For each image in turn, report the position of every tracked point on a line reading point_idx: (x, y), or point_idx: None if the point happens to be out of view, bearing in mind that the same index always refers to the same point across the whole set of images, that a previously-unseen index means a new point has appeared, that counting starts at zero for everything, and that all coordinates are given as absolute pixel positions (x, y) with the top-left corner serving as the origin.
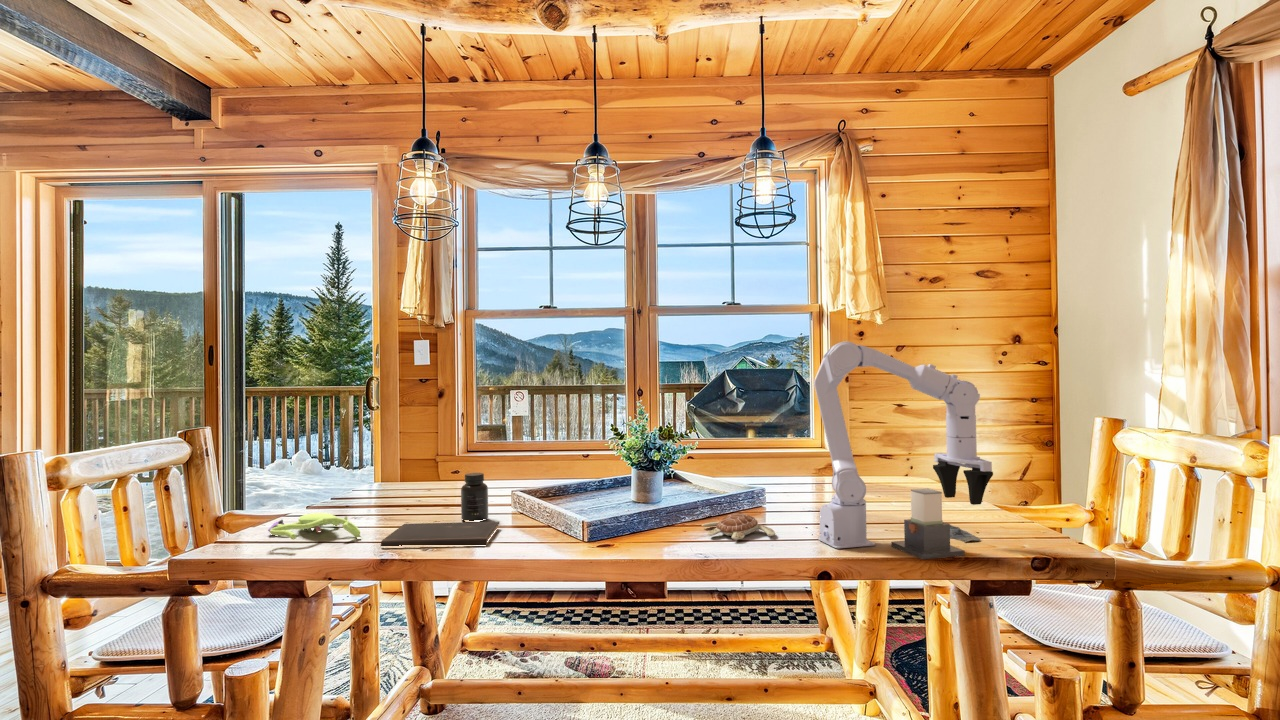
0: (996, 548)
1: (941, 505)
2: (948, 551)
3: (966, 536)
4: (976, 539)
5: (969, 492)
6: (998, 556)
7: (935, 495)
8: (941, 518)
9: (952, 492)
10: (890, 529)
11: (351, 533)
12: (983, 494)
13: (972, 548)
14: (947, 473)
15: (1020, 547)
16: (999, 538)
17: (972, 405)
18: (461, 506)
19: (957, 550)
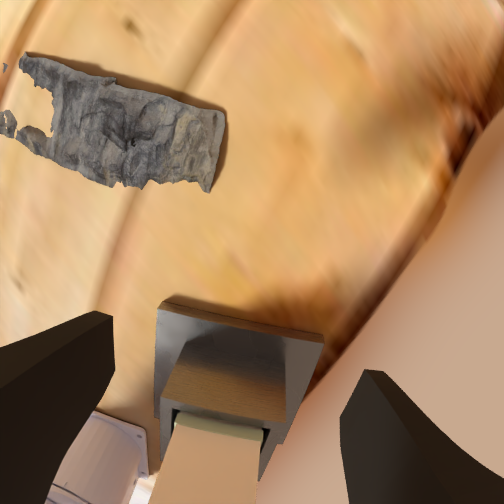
0: (324, 158)
1: (255, 492)
2: (302, 386)
3: (169, 137)
4: (210, 127)
5: (352, 489)
6: (388, 251)
7: None
8: (259, 449)
9: (96, 353)
10: (15, 269)
11: None
12: (421, 413)
13: (279, 238)
14: (19, 489)
15: (357, 68)
16: (229, 19)
17: None
18: None
19: (310, 360)
